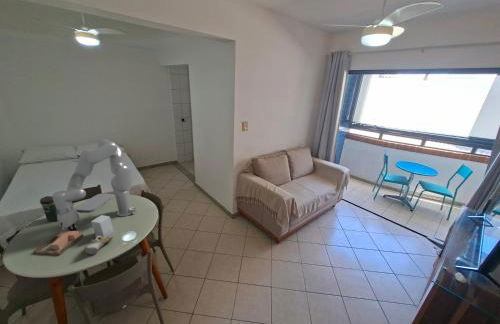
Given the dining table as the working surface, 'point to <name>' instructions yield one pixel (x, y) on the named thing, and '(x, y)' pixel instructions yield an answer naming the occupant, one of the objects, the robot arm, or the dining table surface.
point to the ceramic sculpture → (96, 244)
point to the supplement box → (102, 226)
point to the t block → (64, 239)
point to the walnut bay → (39, 251)
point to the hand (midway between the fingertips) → (74, 232)
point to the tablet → (94, 202)
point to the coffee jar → (49, 208)
